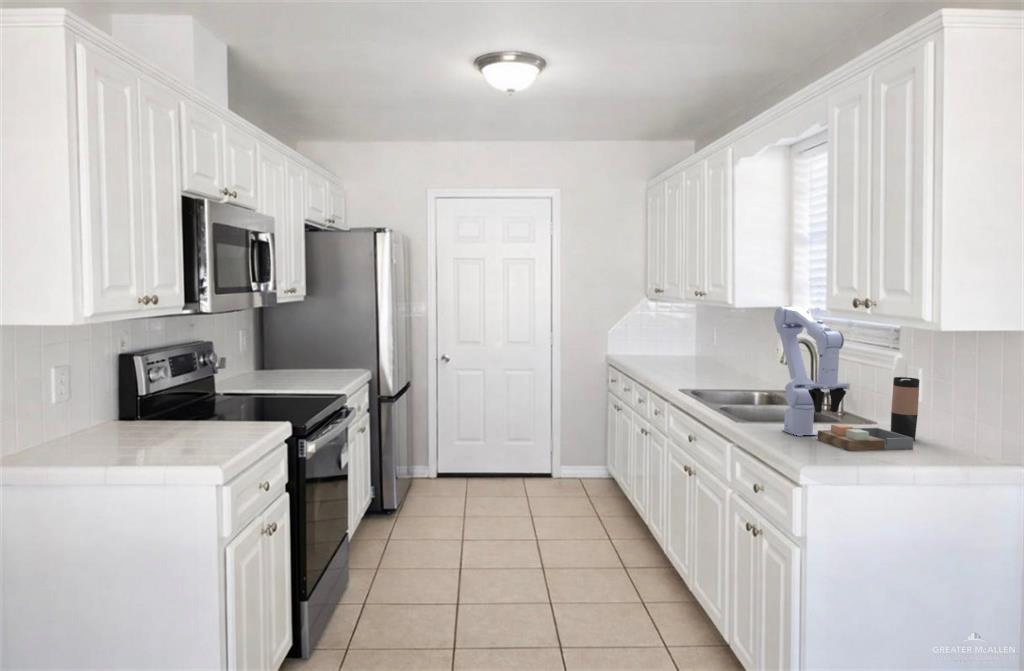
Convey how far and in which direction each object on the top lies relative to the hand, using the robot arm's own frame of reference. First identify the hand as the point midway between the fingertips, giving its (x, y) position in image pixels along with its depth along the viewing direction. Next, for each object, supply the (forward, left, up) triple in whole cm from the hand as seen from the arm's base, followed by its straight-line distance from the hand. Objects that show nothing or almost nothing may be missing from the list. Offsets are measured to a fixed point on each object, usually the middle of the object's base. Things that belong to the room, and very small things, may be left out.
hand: (825, 412), depth 231 cm
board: (+3, +7, -10) cm, 12 cm away
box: (+3, +18, -10) cm, 21 cm away
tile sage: (+7, +6, -7) cm, 12 cm away
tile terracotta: (0, +6, -7) cm, 9 cm away
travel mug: (-3, +31, -10) cm, 33 cm away
